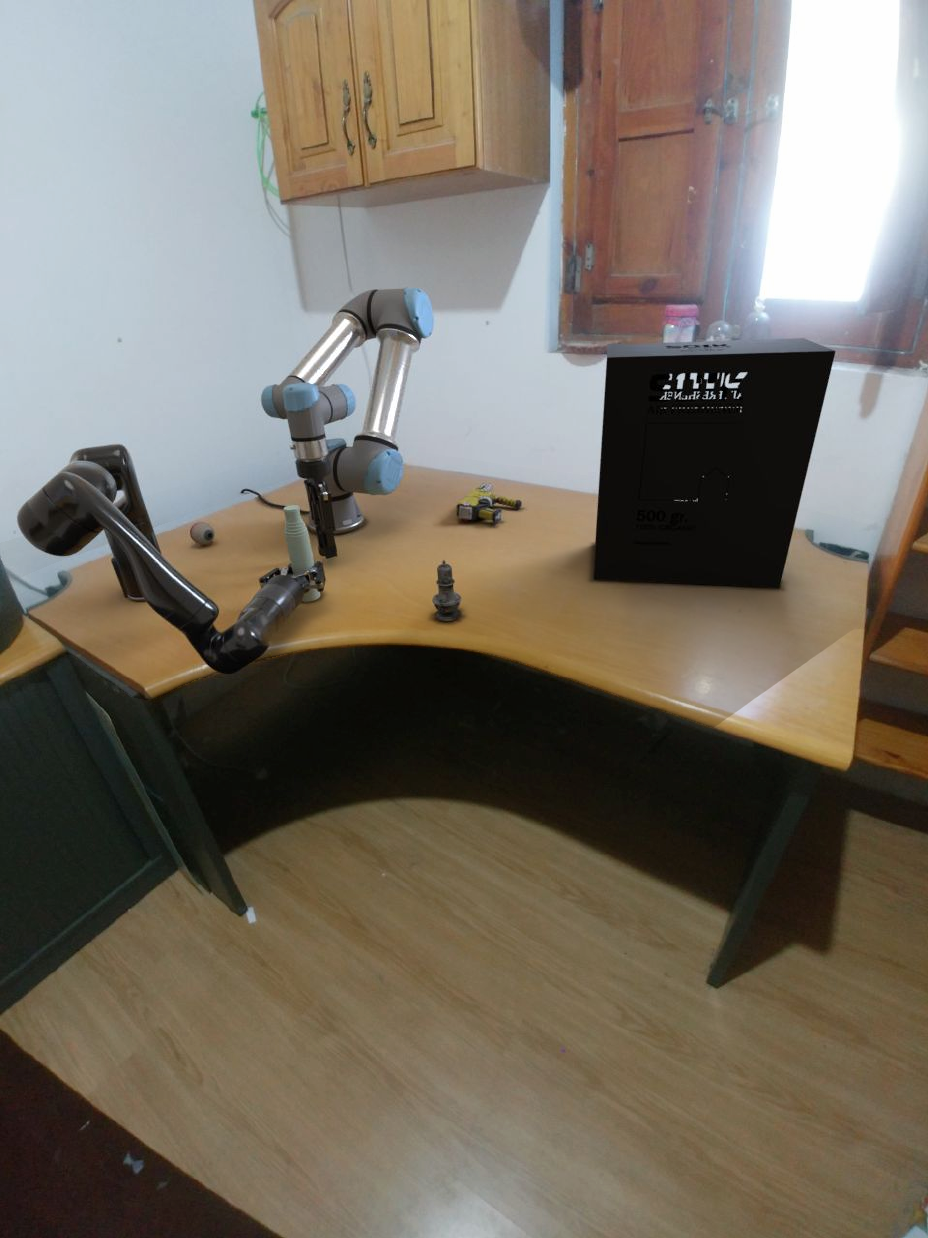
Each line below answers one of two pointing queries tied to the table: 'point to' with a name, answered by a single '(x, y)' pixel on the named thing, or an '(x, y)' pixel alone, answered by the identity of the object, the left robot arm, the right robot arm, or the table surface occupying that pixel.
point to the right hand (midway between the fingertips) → (328, 553)
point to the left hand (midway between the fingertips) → (308, 564)
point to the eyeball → (202, 533)
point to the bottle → (299, 546)
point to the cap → (322, 550)
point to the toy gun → (483, 505)
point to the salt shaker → (446, 595)
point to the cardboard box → (706, 459)
